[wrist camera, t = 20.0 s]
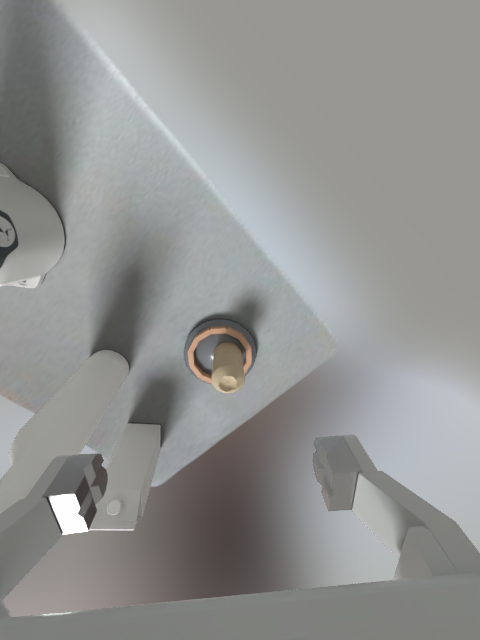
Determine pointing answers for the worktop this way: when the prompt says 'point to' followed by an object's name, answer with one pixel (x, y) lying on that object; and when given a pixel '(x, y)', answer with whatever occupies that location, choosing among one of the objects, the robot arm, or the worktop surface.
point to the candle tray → (209, 338)
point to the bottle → (62, 423)
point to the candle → (227, 368)
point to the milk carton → (129, 478)
